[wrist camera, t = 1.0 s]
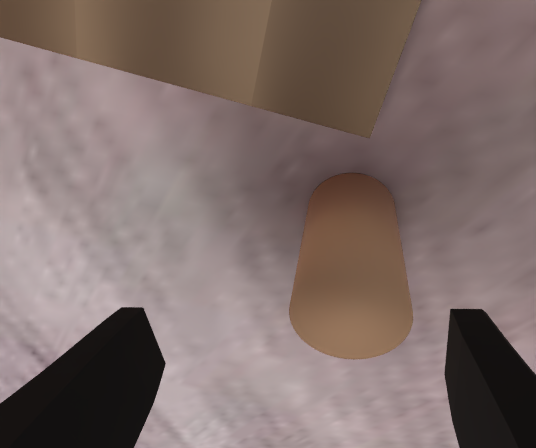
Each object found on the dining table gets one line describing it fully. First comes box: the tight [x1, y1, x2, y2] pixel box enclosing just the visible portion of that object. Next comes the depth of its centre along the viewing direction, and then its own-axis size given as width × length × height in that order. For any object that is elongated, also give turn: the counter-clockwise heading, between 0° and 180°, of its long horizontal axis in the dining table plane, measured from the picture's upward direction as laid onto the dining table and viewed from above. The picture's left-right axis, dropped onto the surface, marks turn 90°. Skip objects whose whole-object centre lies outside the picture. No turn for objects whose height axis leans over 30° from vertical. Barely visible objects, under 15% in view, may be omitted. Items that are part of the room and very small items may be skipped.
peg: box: [289, 173, 413, 359], centre depth 17 cm, size 4×4×7 cm
